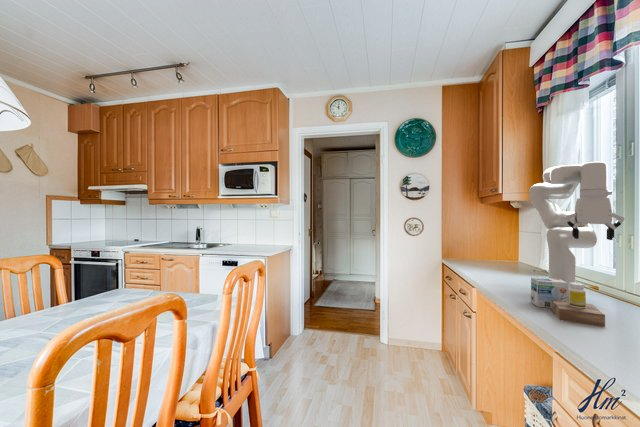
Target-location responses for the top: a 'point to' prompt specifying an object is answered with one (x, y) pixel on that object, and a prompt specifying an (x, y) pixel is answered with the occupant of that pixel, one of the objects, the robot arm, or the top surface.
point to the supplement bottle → (576, 295)
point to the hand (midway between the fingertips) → (592, 239)
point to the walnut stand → (578, 313)
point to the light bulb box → (548, 291)
